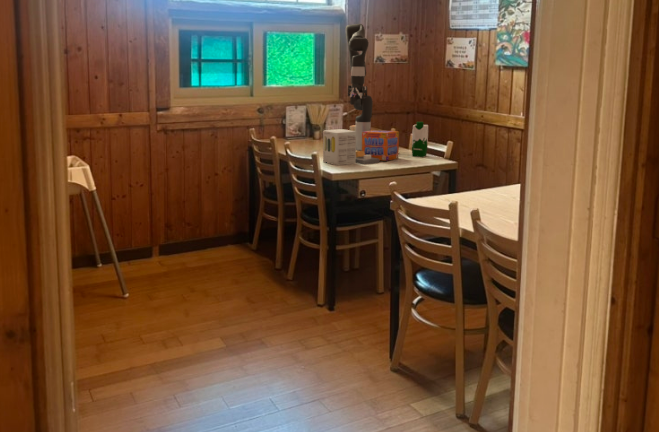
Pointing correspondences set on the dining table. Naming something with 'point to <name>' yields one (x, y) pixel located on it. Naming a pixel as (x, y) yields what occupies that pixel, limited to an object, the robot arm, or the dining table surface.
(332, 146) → the supplement box
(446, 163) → the dining table surface
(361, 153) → the breaker paddle
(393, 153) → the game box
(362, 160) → the breaker panel
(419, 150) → the milk carton
